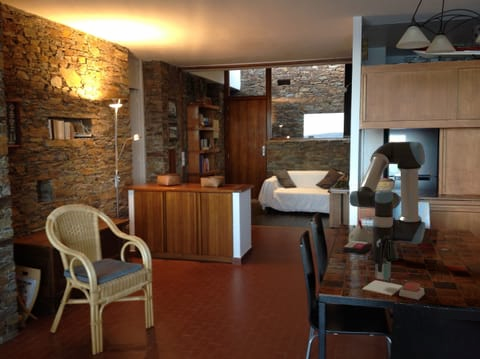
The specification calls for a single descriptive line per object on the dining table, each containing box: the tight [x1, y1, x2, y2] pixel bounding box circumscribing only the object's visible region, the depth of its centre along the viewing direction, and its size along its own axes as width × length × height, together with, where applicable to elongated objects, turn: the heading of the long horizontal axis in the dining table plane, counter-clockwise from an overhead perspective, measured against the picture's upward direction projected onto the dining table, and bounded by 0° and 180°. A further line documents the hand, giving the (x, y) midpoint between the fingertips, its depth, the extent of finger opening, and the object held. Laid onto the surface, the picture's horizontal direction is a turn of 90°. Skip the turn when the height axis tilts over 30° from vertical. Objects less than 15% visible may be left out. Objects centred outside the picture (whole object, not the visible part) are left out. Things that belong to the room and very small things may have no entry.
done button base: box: [398, 286, 425, 301], centre depth 188 cm, size 8×8×3 cm
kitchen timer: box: [348, 219, 373, 247], centre depth 277 cm, size 14×14×15 cm
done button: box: [403, 281, 421, 291], centre depth 188 cm, size 5×5×2 cm
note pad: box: [362, 279, 404, 297], centre depth 197 cm, size 14×13×1 cm
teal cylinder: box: [374, 258, 392, 281], centre depth 196 cm, size 5×5×8 cm
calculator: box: [342, 241, 370, 254], centre depth 264 cm, size 11×4×15 cm
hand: (382, 277), depth 196 cm, fingers closed on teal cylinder, 5 cm apart
